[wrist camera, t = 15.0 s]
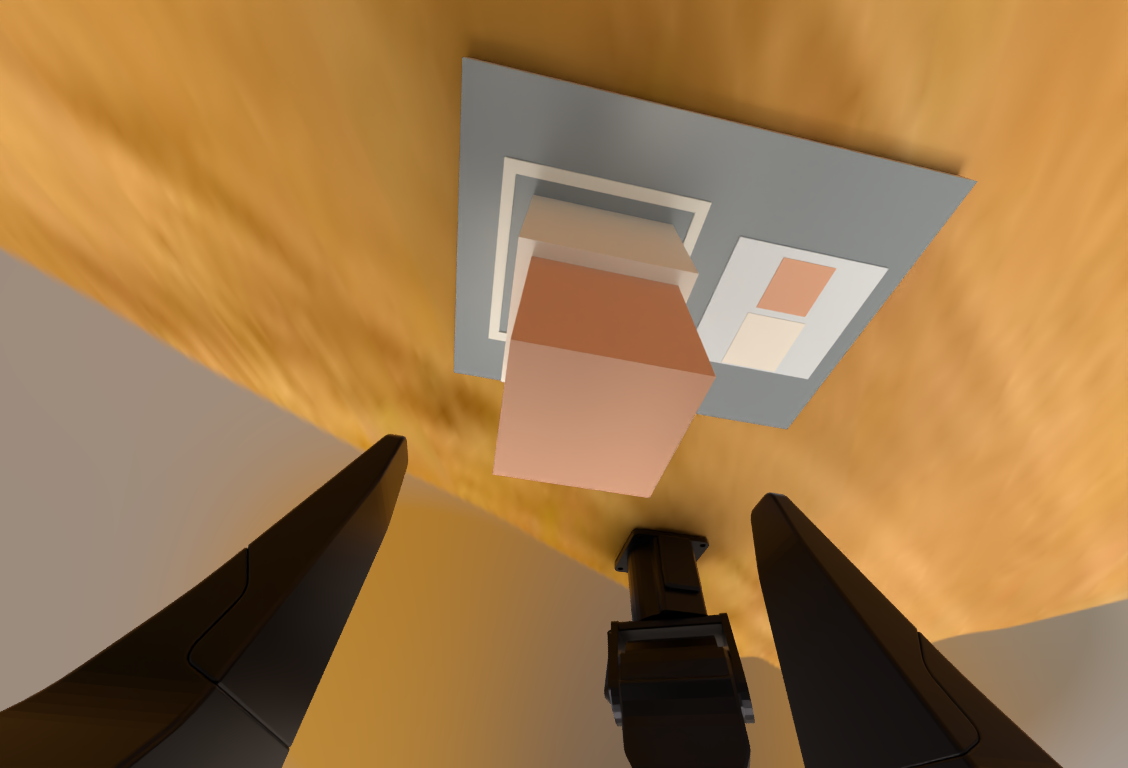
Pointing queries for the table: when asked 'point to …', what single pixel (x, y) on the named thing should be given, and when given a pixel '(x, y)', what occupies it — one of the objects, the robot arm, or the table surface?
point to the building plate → (694, 225)
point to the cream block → (598, 248)
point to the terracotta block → (598, 380)
